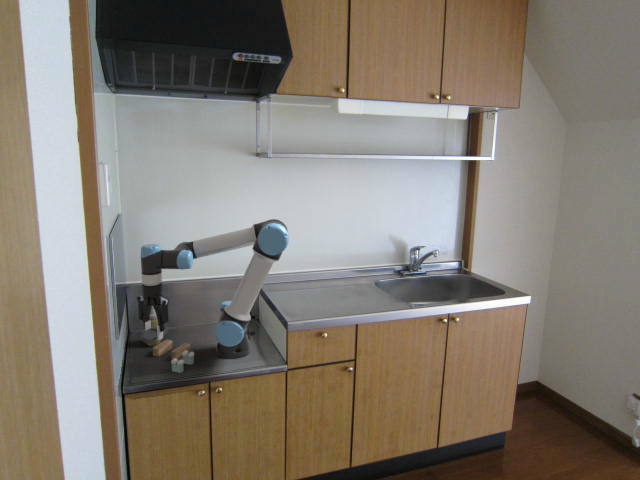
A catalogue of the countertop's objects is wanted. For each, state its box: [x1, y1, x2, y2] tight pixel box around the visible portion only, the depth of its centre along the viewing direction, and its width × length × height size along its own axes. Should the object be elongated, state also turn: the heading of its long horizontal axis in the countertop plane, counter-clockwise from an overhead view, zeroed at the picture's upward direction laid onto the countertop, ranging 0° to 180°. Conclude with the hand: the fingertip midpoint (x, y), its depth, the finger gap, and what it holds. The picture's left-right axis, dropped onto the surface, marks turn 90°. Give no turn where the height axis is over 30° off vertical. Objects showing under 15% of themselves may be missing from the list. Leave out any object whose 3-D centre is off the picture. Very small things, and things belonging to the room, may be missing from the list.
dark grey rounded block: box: [140, 323, 170, 345], centre depth 182 cm, size 11×5×5 cm, turn 163°
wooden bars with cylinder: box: [152, 339, 191, 361], centre depth 195 cm, size 12×10×4 cm
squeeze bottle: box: [143, 306, 162, 347], centre depth 202 cm, size 8×8×18 cm
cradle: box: [170, 350, 195, 374], centre depth 183 cm, size 10×5×5 cm, turn 163°
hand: (154, 337), depth 182 cm, fingers closed on dark grey rounded block, 5 cm apart
